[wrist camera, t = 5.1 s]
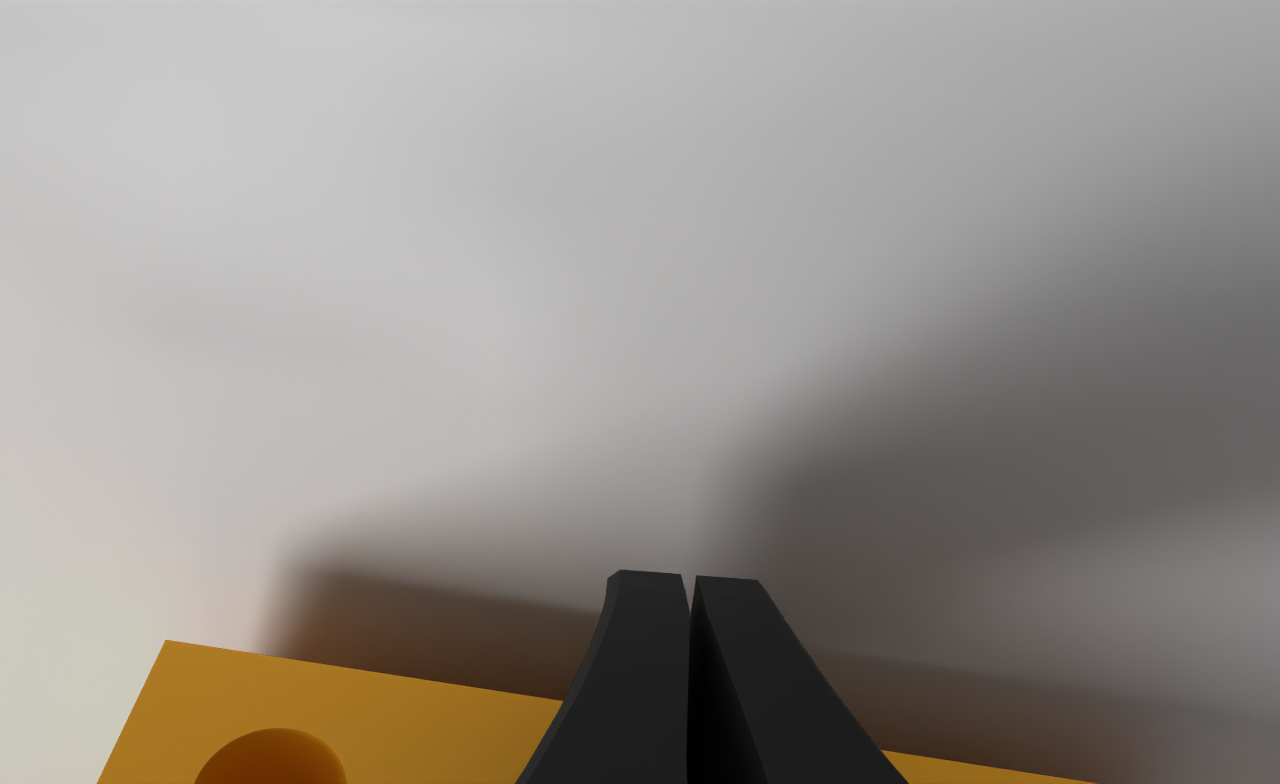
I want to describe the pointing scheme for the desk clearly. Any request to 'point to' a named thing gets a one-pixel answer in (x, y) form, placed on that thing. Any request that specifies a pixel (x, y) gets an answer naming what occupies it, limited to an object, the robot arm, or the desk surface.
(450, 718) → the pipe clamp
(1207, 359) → the desk surface
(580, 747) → the robot arm
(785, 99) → the desk surface
